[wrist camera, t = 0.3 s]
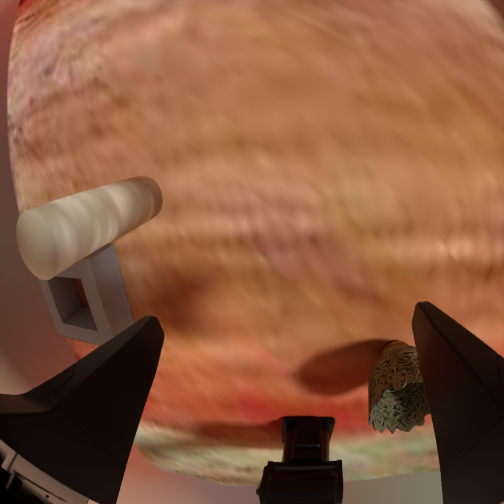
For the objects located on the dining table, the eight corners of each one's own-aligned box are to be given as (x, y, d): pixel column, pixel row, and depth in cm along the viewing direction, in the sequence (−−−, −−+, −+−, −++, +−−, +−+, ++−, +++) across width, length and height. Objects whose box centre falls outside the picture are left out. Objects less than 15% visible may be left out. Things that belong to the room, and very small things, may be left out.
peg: (165, 219, 24) (65, 282, 12) (128, 221, 24) (27, 278, 13) (159, 173, 22) (46, 206, 11) (122, 178, 23) (11, 213, 11)
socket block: (136, 328, 29) (118, 349, 25) (76, 317, 31) (58, 334, 27) (114, 244, 25) (89, 259, 22) (54, 245, 27) (31, 257, 23)
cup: (384, 385, 26) (396, 442, 19) (343, 356, 26) (350, 419, 18) (436, 345, 24) (462, 399, 16) (401, 308, 23) (429, 367, 15)
